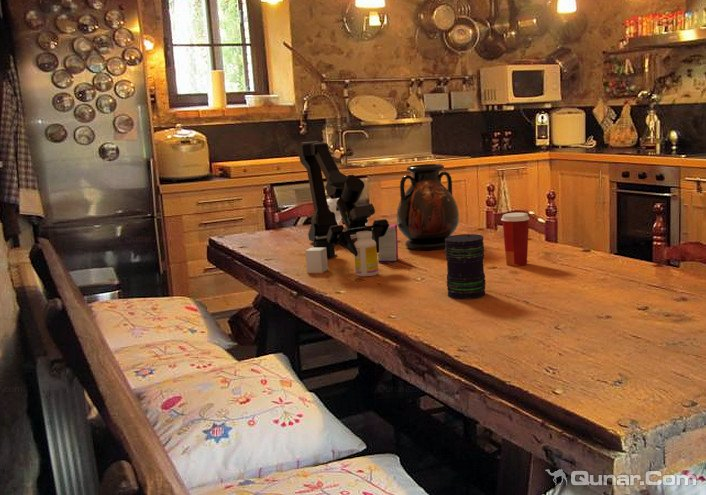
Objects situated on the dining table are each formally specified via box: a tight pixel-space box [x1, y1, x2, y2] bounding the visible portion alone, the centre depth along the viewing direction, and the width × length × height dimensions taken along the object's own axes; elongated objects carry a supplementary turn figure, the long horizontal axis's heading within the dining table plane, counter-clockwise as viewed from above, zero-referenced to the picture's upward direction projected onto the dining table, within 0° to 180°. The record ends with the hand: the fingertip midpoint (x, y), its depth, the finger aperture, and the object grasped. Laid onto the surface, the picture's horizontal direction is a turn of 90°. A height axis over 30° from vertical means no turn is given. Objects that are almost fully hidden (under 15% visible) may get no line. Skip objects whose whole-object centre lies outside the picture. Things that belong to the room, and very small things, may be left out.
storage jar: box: [444, 233, 486, 301], centre depth 194 cm, size 10×10×15 cm
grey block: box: [304, 247, 329, 274], centre depth 236 cm, size 5×5×7 cm
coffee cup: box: [500, 212, 530, 267], centre depth 226 cm, size 8×8×15 cm
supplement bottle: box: [353, 231, 379, 277], centre depth 226 cm, size 7×7×13 cm
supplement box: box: [377, 224, 399, 264], centre depth 244 cm, size 6×6×12 cm
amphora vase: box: [396, 163, 460, 251], centre depth 262 cm, size 22×22×28 cm
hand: (367, 253), depth 224 cm, fingers closed on supplement bottle, 7 cm apart
